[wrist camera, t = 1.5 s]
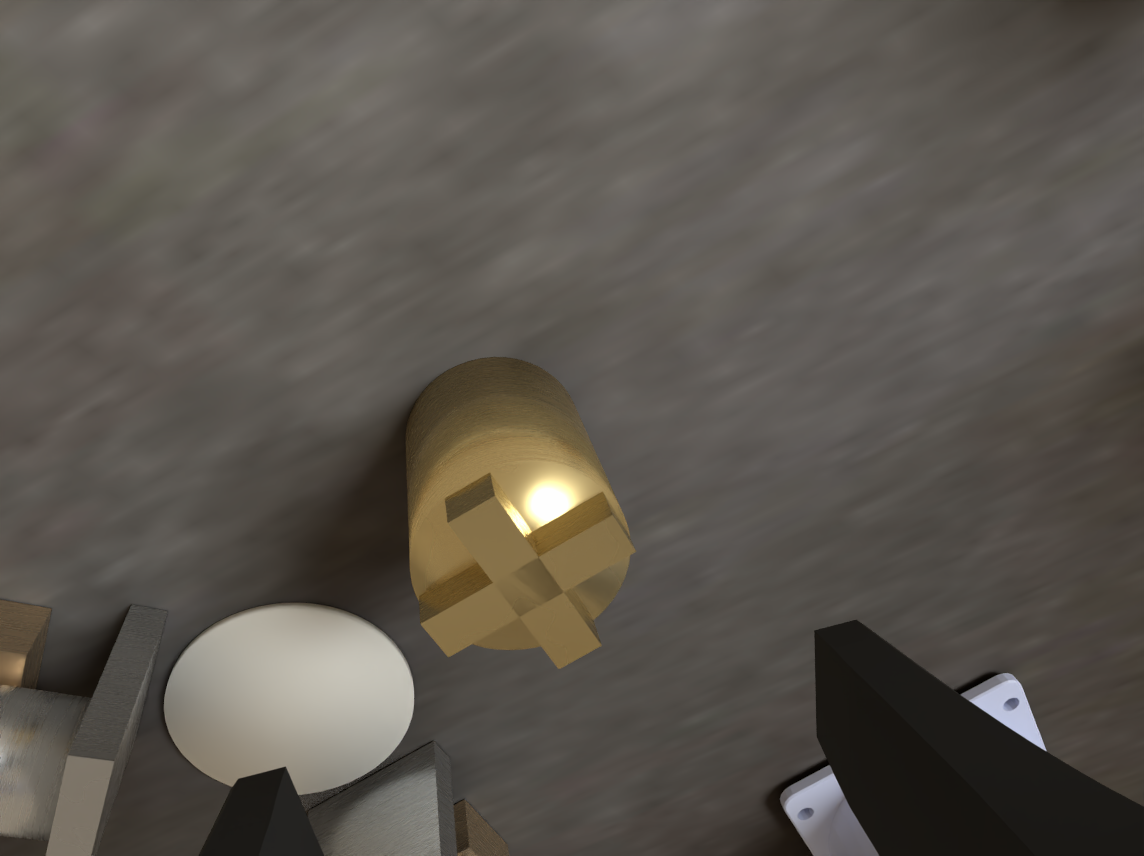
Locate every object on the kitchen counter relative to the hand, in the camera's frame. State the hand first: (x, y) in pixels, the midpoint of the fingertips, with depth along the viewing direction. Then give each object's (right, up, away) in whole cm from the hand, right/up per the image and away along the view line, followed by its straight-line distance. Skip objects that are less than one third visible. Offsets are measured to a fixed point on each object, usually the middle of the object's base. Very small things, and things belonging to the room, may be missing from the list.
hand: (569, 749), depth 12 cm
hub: (-2, +4, +8) cm, 10 cm away
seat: (-7, -3, +11) cm, 13 cm away
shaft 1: (-12, -1, +9) cm, 15 cm away
